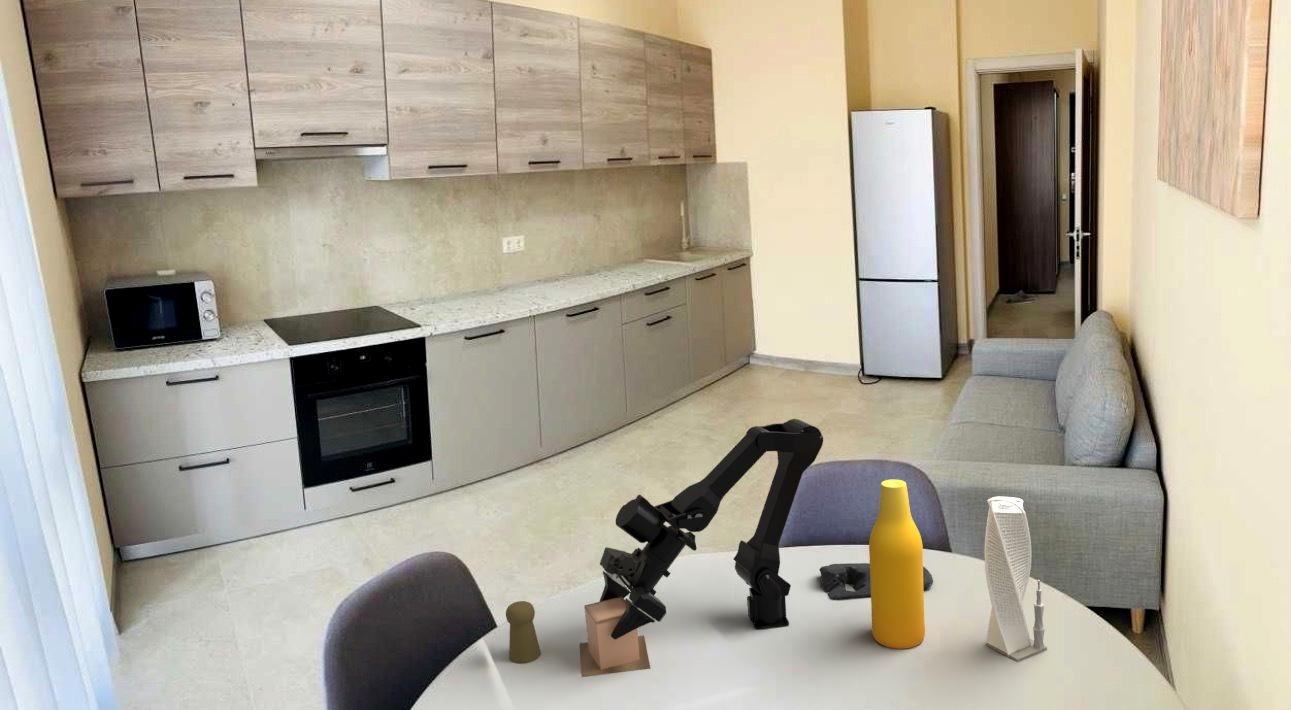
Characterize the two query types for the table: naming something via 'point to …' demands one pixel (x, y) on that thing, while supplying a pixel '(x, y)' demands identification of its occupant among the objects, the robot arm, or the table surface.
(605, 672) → the walnut pad
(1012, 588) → the skyscraper
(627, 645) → the tan upright cuboid
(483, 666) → the table surface
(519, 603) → the olive pawn game piece
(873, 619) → the beer bottle
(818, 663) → the table surface
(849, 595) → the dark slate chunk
